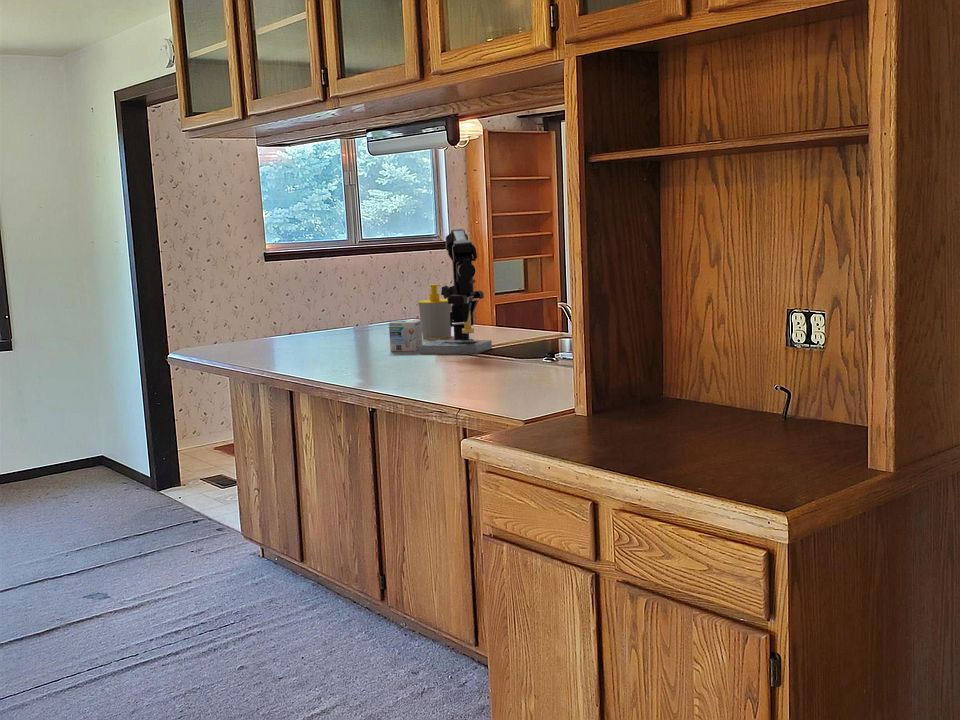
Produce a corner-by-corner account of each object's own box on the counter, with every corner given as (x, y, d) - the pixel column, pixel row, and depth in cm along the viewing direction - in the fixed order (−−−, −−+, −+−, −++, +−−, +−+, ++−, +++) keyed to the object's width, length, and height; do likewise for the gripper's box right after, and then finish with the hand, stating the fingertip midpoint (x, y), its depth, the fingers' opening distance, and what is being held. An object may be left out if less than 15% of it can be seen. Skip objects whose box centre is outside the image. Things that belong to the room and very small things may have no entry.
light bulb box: (389, 351, 349) (387, 322, 347) (396, 348, 355) (394, 320, 353) (417, 351, 345) (415, 321, 344) (423, 348, 352) (421, 319, 350)
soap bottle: (459, 335, 383) (456, 283, 380) (438, 339, 373) (435, 286, 370) (435, 334, 392) (432, 282, 388) (414, 338, 382) (410, 285, 378)
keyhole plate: (437, 347, 351) (436, 339, 350) (491, 348, 342) (491, 340, 342) (420, 353, 338) (419, 345, 338) (476, 354, 329) (476, 345, 329)
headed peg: (465, 331, 340) (463, 305, 338) (475, 331, 338) (474, 305, 337) (460, 333, 336) (458, 307, 335) (471, 333, 334) (469, 306, 333)
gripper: (455, 275, 346) (457, 318, 348) (432, 280, 329) (435, 324, 331) (483, 275, 341) (485, 318, 344) (461, 279, 324) (464, 324, 327)
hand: (467, 321), depth 337 cm, fingers closed on headed peg, 2 cm apart
